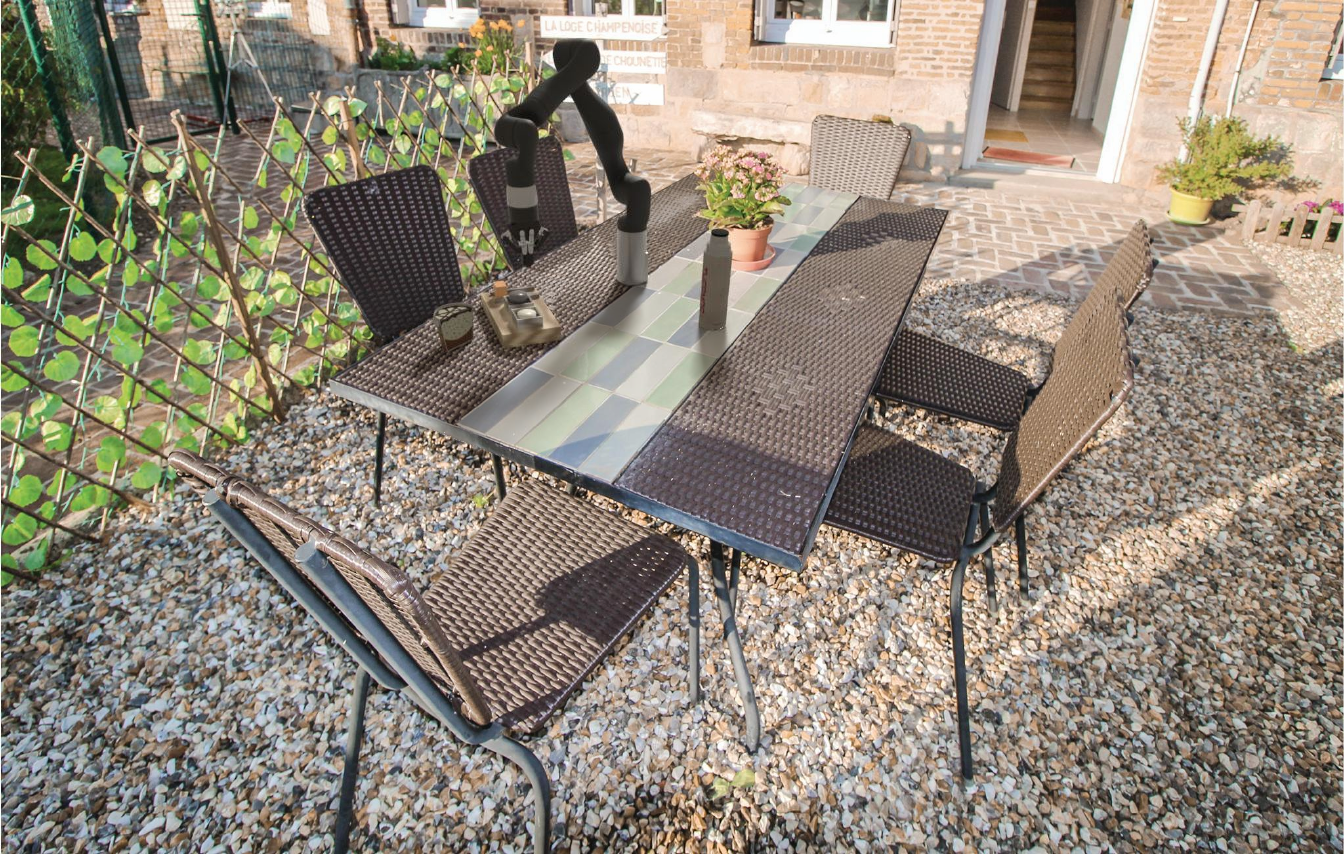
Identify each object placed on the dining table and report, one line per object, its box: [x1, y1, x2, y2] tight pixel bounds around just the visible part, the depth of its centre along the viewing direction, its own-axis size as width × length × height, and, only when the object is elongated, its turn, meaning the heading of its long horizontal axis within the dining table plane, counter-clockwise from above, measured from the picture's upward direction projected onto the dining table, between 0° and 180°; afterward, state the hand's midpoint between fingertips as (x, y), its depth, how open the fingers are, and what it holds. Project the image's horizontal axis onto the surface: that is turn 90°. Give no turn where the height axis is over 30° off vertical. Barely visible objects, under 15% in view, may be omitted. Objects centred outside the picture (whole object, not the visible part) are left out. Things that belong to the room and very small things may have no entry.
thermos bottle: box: [698, 227, 734, 330], centre depth 208 cm, size 8×8×28 cm
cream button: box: [517, 309, 536, 319], centre depth 202 cm, size 5×5×2 cm
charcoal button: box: [509, 290, 528, 304], centre depth 207 cm, size 5×5×2 cm
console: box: [480, 285, 562, 349], centre depth 210 cm, size 16×28×7 cm, turn 24°
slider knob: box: [492, 280, 508, 299], centre depth 214 cm, size 3×4×4 cm
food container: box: [432, 302, 476, 353], centre depth 197 cm, size 12×6×10 cm, turn 145°
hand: (527, 266), depth 196 cm, fingers closed
